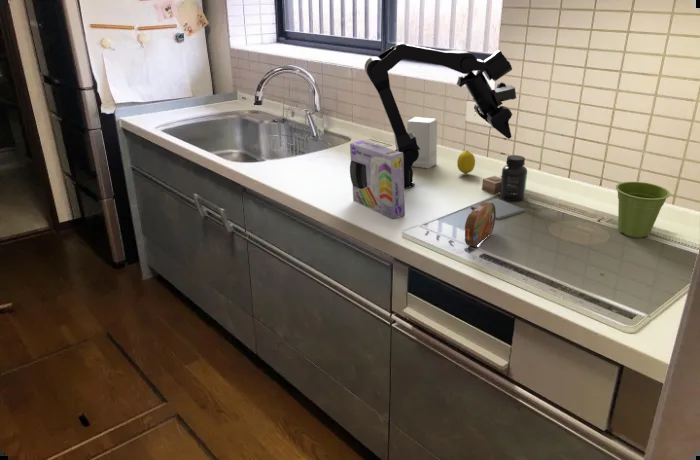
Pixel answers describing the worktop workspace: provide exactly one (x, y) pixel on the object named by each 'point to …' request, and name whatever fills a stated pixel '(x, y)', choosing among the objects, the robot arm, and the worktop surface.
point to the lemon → (466, 162)
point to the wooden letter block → (492, 184)
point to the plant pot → (639, 207)
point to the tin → (480, 223)
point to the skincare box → (424, 140)
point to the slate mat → (503, 208)
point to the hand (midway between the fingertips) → (505, 133)
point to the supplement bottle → (513, 179)
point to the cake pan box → (378, 178)
